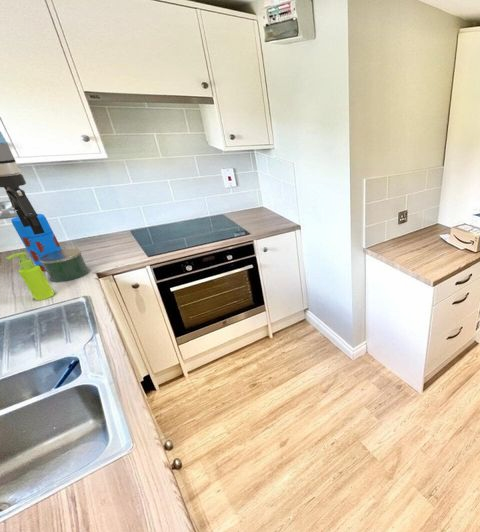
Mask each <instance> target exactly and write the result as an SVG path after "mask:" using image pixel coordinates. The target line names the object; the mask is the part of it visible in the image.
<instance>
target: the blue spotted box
mask: <svg viewBox="0 0 480 532" xmlns="http://www.w3.org/2000/svg"><path fill="white" fill-rule="evenodd" d="M37 214H38V216H37V218H38V220H39V222H40V224H41V226H42V228H43V230H44V232H45V233H41V234H36V235H35V234H34V233H33V231H32V229H31V227H30V226H28V227H24V226H23V224H22V222H21V220H20V218H19V216H15V217H13V218H11V219H10V221H11V224H12V226H13V228H14V229H15V232H16V233H17V235H18V236H19V238H20V240H21V242H22V244H23V246H24V247H25V249H26V251H27V252H28V253H27V254H29V257H30V259H31V261H32V262H33V264H34V266H35V265H37V266H40V268H41V270H42V272H47V271H46V269H45V267H44V266H43V264H42V263H41V262H40V260H39V258H40V257H42V256H43V255H46V254H48V253H51V252H55V251H59V250H63V249H62V247H61V245H60V243H59V241H58V239H57V236H56V235H55V233H54V231H53V229H52V227H51V225H50V223H49V221H48V219H47V217H46V216H45V214H43V213H37Z"/></svg>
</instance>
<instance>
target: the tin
mask: <svg viewBox="0 0 480 532" xmlns="http://www.w3.org/2000/svg"><path fill="white" fill-rule="evenodd" d="M39 260H40V262H41V263H42V264H43V266H44V267H45V269H46V271H45V272H46V273H47V275H48V276H49V279H50V280H51V281H52V282H55V283H60V282H68V281H73V280H76V279H79V278H81V277H83V276H85V275H87V274H88V273H89V271H90V269H89V267H88V266H87V263H86V262H85V260H84V258H83V255H82V251H81V249H78V248H65V249H62V250H59V251H55V252H51V253H48V254H46V255H43V256H42V257H40V258H39Z"/></svg>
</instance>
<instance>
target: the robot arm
mask: <svg viewBox="0 0 480 532" xmlns="http://www.w3.org/2000/svg"><path fill="white" fill-rule="evenodd" d="M16 161H17V160H16V159H15V156H14V154H13V152H12V150H11V148H10V146H9V143H8V141H7V140H6V138H5V136H4V135H3V133H2V131H0V188H4V190H5V193H6V195H7V197H8V200H9V202H10V204H11V207H12V209H14V210H15V212H16V215H17V217H19V218H20V220H21V222H22V224H23V226H24V227H28V226H30V227H31V229H32V231H33V233H34V234H35V235H36V234H41V233H45V232H44V230H43V228H42V226H41V224H40V222H39V220H38V218H37V216H38V214H39V213H37V212H36V209H35V208H34V207H33V205H32V203H31V202H30V200H29V198H28V196H27V195H26V191H25V190H24V189H22V188H20V186H21V187H22V186H25V185H26V184H27V182H26V179H25V178H24V175H23V174H22V173H21V169H20V168H19V167H21V165H20V163H17V162H16Z"/></svg>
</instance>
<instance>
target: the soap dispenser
mask: <svg viewBox="0 0 480 532" xmlns="http://www.w3.org/2000/svg"><path fill="white" fill-rule="evenodd" d="M27 254H28V253H27V252H25V251H19V252H17V253H12V254H10V255H8V256H6V257H5V259H7V260H12V259H14V258H17V257H18V258H19V261H18V264H19V267H20V269H19V270H18V273H19V276H20V277H21V278H22V280H23V282H24V283H25V285H26V287H27V288H28V290H29V292H30V294H31V295H32V297H33V299H34V300H36V301H42V300H43V301H44V300H47V299H49V298H51V297H53V296H55V291H54V289H53V288H52V286H51V285H50V283H49V280H48V279H47V277H46V275H45V273H44V271H42V270H41V268H40V266H37V265H35V264H34V262H33V260H32V259H31V258H28V257H26V255H27Z"/></svg>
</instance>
